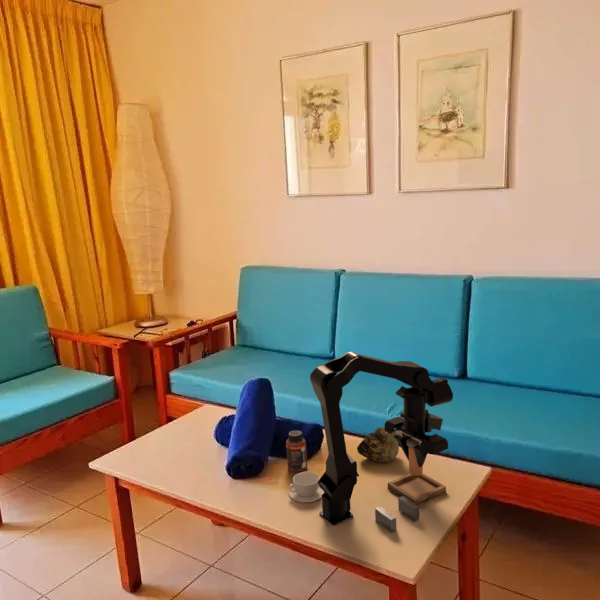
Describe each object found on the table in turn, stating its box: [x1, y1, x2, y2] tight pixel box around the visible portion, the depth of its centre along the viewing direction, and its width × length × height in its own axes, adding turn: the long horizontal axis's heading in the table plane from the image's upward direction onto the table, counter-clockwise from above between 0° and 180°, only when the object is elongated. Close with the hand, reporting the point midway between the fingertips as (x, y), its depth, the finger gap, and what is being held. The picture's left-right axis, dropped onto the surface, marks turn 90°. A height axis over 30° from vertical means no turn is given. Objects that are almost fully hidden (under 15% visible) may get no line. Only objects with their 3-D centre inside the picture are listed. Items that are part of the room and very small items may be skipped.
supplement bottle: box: [285, 430, 308, 473], centre depth 167 cm, size 6×6×11 cm
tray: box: [387, 473, 447, 507], centre depth 152 cm, size 11×11×2 cm
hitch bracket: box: [374, 496, 421, 534], centre depth 139 cm, size 9×6×4 cm, turn 122°
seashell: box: [356, 426, 400, 463], centre depth 170 cm, size 11×11×10 cm
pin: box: [407, 438, 424, 476], centre depth 150 cm, size 5×5×9 cm
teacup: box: [288, 471, 324, 503], centre depth 154 cm, size 10×10×5 cm
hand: (415, 463), depth 151 cm, fingers closed on pin, 4 cm apart
